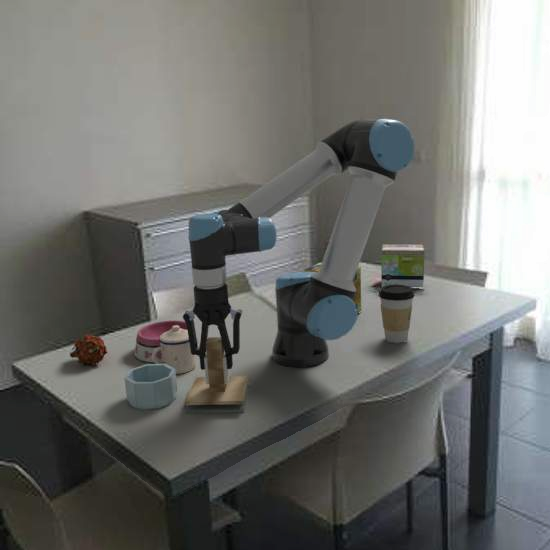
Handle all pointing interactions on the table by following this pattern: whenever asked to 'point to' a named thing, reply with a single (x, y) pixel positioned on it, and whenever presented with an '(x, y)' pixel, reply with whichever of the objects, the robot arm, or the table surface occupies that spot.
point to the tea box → (402, 265)
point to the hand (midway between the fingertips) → (217, 381)
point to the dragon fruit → (89, 350)
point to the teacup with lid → (175, 350)
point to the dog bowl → (153, 339)
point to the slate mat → (218, 407)
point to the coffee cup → (396, 311)
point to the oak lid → (217, 381)
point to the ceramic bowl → (151, 386)
